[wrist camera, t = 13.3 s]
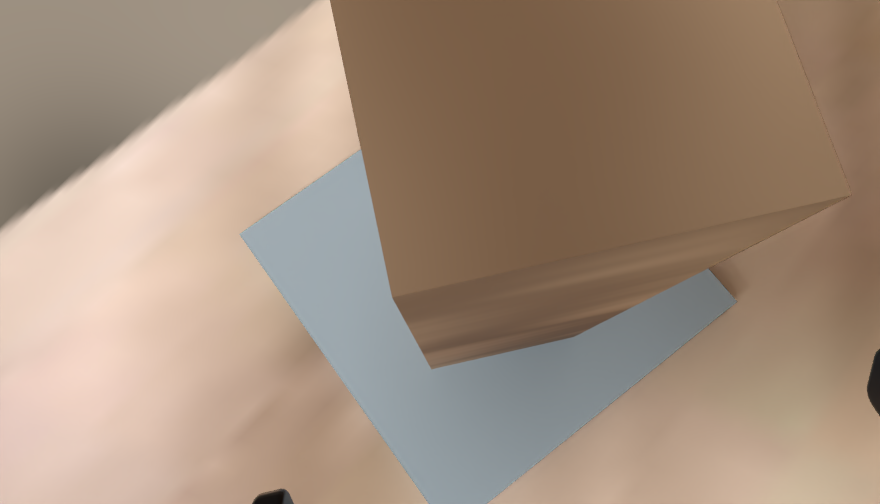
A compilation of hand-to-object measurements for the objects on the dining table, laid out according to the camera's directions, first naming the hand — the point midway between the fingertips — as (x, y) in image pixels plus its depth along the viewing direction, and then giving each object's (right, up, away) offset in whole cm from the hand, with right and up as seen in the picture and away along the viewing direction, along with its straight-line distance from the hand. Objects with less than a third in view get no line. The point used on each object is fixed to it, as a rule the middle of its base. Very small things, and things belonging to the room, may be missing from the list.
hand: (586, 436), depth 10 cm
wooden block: (-1, +2, +9) cm, 9 cm away
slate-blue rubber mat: (-1, +2, +9) cm, 9 cm away
